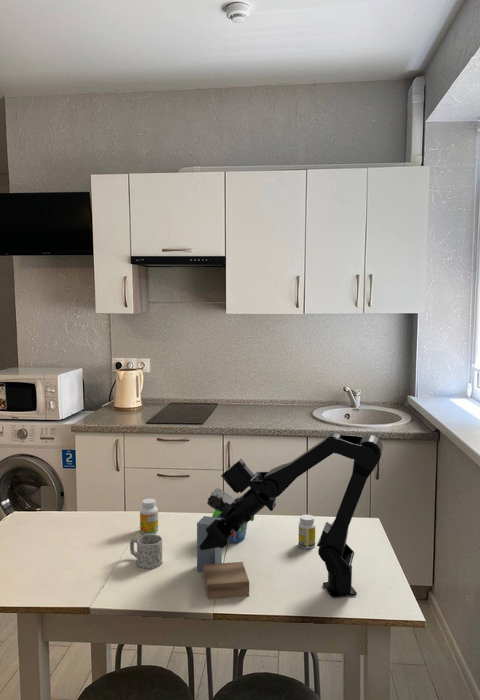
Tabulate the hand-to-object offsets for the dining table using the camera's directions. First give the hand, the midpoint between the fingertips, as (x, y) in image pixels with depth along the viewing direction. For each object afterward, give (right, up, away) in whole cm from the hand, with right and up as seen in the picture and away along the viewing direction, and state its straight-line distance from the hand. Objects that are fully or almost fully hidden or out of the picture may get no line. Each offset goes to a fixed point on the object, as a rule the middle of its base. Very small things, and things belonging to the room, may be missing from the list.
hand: (207, 541), depth 147 cm
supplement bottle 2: (+28, -6, +14) cm, 32 cm away
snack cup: (+6, -6, +19) cm, 21 cm away
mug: (-17, -7, +4) cm, 19 cm away
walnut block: (+5, -9, -9) cm, 13 cm away
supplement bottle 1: (-19, -5, +23) cm, 30 cm away
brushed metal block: (+1, -7, +1) cm, 7 cm away
